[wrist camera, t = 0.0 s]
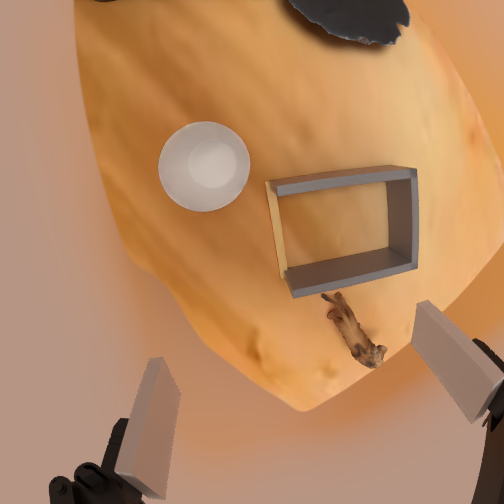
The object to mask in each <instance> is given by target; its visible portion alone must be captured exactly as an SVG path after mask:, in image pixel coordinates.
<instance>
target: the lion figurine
mask: <svg viewBox="0 0 504 504" xmlns="http://www.w3.org/2000/svg"><path fill="white" fill-rule="evenodd" d="M321 297H322V298H323V299H325V300H326V301H329V302H331V303H333V304H334V305H335V306H336V307H337V309H338V310H339V312H340V314H341V316H342V318H341V317H337V316H336V315H335V313H334V312H331V313H329V314H328V316H327V317H328V319H333V321H334V323H335V325H336V326H337V327H338V329H339V331H340V332H342V334H343V335H344V336H343V337H344V339H345V340H346V343H347V344H348V346H349V348H350V350H351V354H352V356H353V357H354V358H355V360H358V361H359V362H360V363H361V364H362V365H365V366H366V367H369V368H371V369H372V368H378V367H381V366H382V364H383V362H384V361H383V358H384V354H385V352H386V351H387V347H385V346H383V345H378V346H377V347H376V346H375V344H373V343H372V342H371V340H370V339H369V338H367V336H366V335H365V333H364V331H363V330H362V329H360V323H357V321H356V318H355V316H354V313H353V312H352V310H351V309H350V307H349V306H348V305H347V304H346V302H345V301H344V299H343V297H342V295H341V293H337V294H336V295H335V298H336V299H337V300H338V301H339V302H340V303H341V304H342V306H343V307H344V311H345V312H344V311H343V309H342V308H341V307H340V306H339V304H338V303H337V302H335V301H334V300H332V299H330V298H329V297H327V295H321Z"/></svg>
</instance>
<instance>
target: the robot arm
mask: <svg viewBox="0 0 504 504" xmlns="http://www.w3.org/2000/svg"><path fill="white" fill-rule="evenodd" d="M95 1H100V2H107V1H114V0H95ZM411 345H412V346H413V347H414V348H415V350H416V351H417V352H418V353H419V355H420V356H421V357H422V358H423V360H424V361H425V362H426V363H427V365H428V366H429V367H430V369H431V370H432V371H433V373H434V374H435V375H436V376H437V378H438V379H439V380H440V382H441V383H442V384H443V385H444V387H445V388H446V390H447V391H448V392H449V394H450V395H451V396H452V398H453V399H454V401H455V402H456V403H457V405H458V406H459V407H460V409H461V410H462V411H463V413H464V414H465V416H466V418H467V419H468V420H469V422H470V423H471V424H472V423H474V422H475V421H477V420H478V419H480V418H481V417H482V416H483V415H484V413H485V412H486V410H487V409H488V410H489V411H490V413H489V415H488V416H487V418H486V419H485V421H484V422H483V425H482V427H484V426H485V424H486V423H487V421H488V423H487V432H486V440H485V447H484V453H483V458H482V463H481V468H480V473H479V477H478V481H477V485H476V489H475V493H474V496H473V500H472V503H471V504H504V362H503V361H502V360H501V359H500V358H499V357H498V356H497V355H495V353H494V352H493V351H492V350H490V348H489V347H488V346H487V345H486V344H485V343H484V342H482V341H480V340H478V339H476V338H475V339H473V340H471V339H470V338H469V337H468V336H467V335H466V334H465V333H464V332H462V331H461V330H460V329H459V328H458V327H457V326H456V325H455V324H454V323H453V322H452V321H451V320H450V319H448V317H446V316H445V315H444V314H443V313H442V312H441V311H440V310H439V309H438V308H437V307H435V306H434V305H433V304H432V303H431V302H430V301H429V300H426V301H423V302H420V303H417V308H416V315H415V322H414V328H413V334H412V339H411ZM180 397H181V392H180V390H179V388H178V387H177V385H176V383H175V381H174V379H173V377H172V375H171V373H170V371H169V369H168V366H167V364H166V362H165V360H164V358H163V357H160V358H149V361H148V364H147V367H146V370H145V372H144V375H143V378H142V381H141V384H140V387H139V390H138V393H137V396H136V399H135V402H134V405H133V408H132V411H131V414H130V418H129V419H128V418H127V419H126V418H120V419H119V420H118V422H117V423H116V424H115V425H114V427H113V430H112V433H111V438H110V439H109V442H108V443H109V445H108V446H107V448H106V452H105V455H104V458H103V461H102V465H101V468H100V467H99V466H98V465H96V464H94V463H91V462H86V463H83V464H81V465H80V466H78V467H77V469H76V470H75V473H74V480H75V482H71V481H70V480H69V479H68V478H66V477H63V476H57V477H55V478H54V479H53V480H51V482H50V484H49V496H50V504H145V503H144V502H143V501H142V500H141V498H142V494H144V495H145V496H146V497H148V498H152V499H161V500H165V498H166V489H167V481H168V474H169V467H170V466H169V465H170V459H171V452H172V446H173V439H174V432H175V427H176V419H177V414H178V408H179V402H180Z"/></svg>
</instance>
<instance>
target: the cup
mask: <svg viewBox="0 0 504 504" xmlns="http://www.w3.org/2000/svg"><path fill="white" fill-rule="evenodd" d="M158 172H159V178H160V182H161V184H162V186H163V188H164V190H165V192H166V193H167V195H168V196H169V197H170V198H171V199H172V200H173V201H174V202H175V203H177V204H178V205H180V206H182V207H184V208H186V209H189V210H192V211H198V212H208V211H214V210H217V209H220V208H222V207H224V206H226V205H228V204H229V203H231V202H232V201H233V200H235V199H236V198H237V197H238V195H239V194H240V193H241V192H242V190H243V188H244V187H245V185H246V182H247V180H248V177H249V172H250V157H249V153H248V150H247V147H246V145H245V144H244V142H243V140H242V139H241V138H240V137H239V136H238V135H237V134H236V133H235V132H234V131H233V130H231V129H230V128H228V127H226V126H224V125H222V124H219V123H216V122H210V121H200V122H194V123H191V124H188V125H185V126H184V127H182V128H180V129H178V130H177V131H176V132H175V133H173V134H172V135H171V136H170V138H169V139H168V140H167V141H166V143H165V145H164V146H163V148H162V151H161V154H160V157H159V163H158Z"/></svg>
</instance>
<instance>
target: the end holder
mask: <svg viewBox="0 0 504 504" xmlns="http://www.w3.org/2000/svg"><path fill="white" fill-rule="evenodd" d="M382 181H386V186H387V200H388V220H389V247H387V248H383V249H378V250H374V251H369V252H364V253H360V254H355V255H350V256H346V257H341V258H336V259H331V260H327V261H322V262H317V263H312V264H307V265H302V266H297V267H292V268H288V267H287V260H286V253H285V247H284V240H283V233H282V227H281V220H280V214H279V208H278V202H277V196H278V197H279V196H285V195H291V194H297V193H303V192H310V191H316V190H323V189H329V188H336V187H343V186H350V185H358V184H365V183H373V182H382ZM265 186H266V192H267V197H268V203H269V209H270V215H271V221H272V227H273V233H274V239H275V246H276V252H277V258H278V265H279V271H280V277H281V279H283V278H285V279H286V282H287V284H288V287H289V289H290V292H291V294H292V297H293V298H298V297H303V296H308V295H312V294H317V293H321V292H326V291H330V290H335V289H339V288H343V287H348V286H352V285H356V284H360V283H364V282H368V281H372V280H376V279H380V278H384V277H388V276H392V275H395V274H399V273H403V272H406V271H410V270H414V269H417V268H418V249H419V197H418V178H417V169H415V168H408V167H401V166H393V165H388V166H377V167H367V168H358V169H349V170H341V171H333V172H325V173H318V174H311V175H304V176H297V177H291V178H285V179H279V180H273V181H267V182H265ZM276 195H277V196H276Z"/></svg>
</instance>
